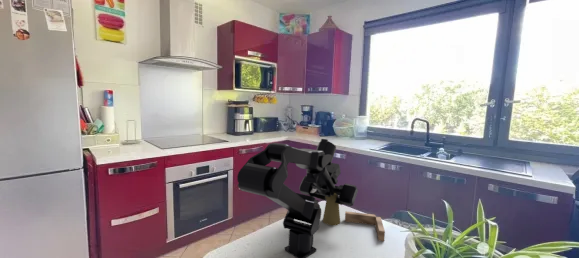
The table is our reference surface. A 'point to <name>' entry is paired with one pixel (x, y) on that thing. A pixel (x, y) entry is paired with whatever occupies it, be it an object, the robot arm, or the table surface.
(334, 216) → the olive yellow tapered cone
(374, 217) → the v block
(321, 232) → the table surface
